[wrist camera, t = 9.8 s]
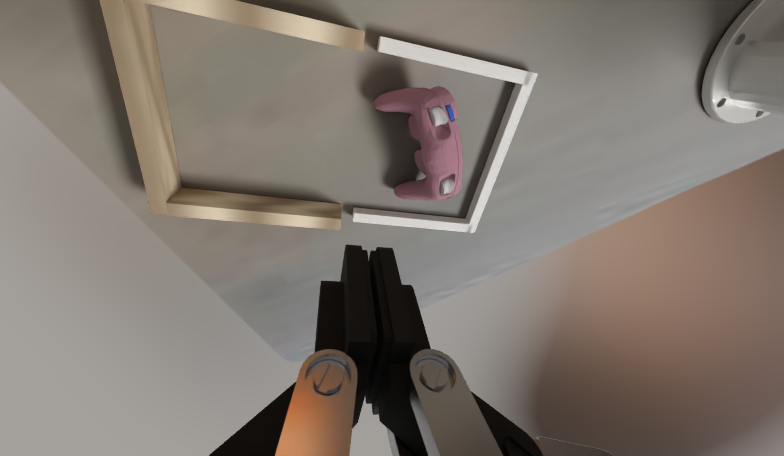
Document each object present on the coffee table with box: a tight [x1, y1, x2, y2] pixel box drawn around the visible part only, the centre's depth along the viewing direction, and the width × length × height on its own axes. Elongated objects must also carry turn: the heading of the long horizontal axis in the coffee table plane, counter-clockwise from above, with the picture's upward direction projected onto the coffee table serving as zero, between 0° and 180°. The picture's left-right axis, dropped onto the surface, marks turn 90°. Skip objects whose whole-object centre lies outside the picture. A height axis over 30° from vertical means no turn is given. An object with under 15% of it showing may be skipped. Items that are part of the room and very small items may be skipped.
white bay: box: [352, 36, 538, 233], centre depth 28 cm, size 14×16×1 cm
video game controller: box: [373, 87, 463, 200], centre depth 26 cm, size 10×5×7 cm, turn 13°
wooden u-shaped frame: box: [100, 0, 365, 230], centre depth 24 cm, size 15×16×3 cm
